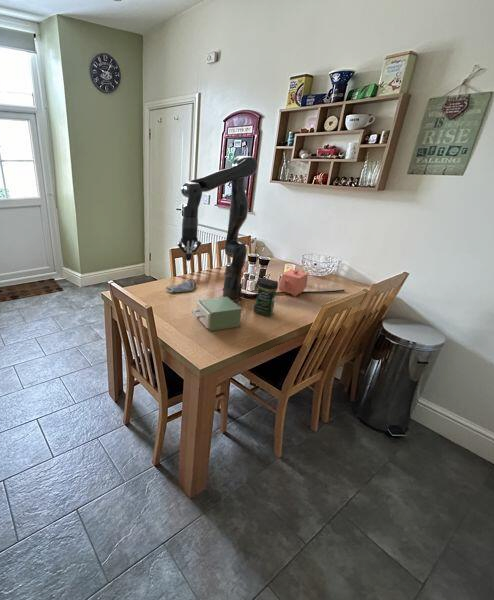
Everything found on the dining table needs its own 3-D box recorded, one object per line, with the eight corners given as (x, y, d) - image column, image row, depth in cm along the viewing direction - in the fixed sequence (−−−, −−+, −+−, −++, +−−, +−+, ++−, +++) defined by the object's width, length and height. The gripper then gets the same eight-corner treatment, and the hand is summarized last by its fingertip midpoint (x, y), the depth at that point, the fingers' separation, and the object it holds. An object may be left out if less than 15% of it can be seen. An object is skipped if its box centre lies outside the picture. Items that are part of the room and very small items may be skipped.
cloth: (176, 296, 190) (176, 292, 189) (161, 289, 200) (161, 285, 199) (206, 286, 206) (207, 282, 205) (191, 279, 215) (191, 276, 214)
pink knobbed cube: (292, 300, 188) (297, 277, 182) (272, 294, 196) (276, 271, 190) (308, 290, 202) (313, 269, 196) (289, 285, 210) (293, 264, 204)
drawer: (199, 330, 153) (200, 315, 150) (188, 317, 165) (189, 303, 161) (234, 324, 158) (236, 310, 155) (221, 312, 170) (223, 299, 167)
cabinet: (210, 330, 154) (211, 312, 150) (197, 317, 167) (199, 299, 163) (239, 326, 159) (241, 308, 155) (225, 313, 171) (227, 296, 167)
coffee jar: (251, 312, 173) (256, 279, 166) (257, 307, 179) (262, 275, 171) (268, 317, 168) (274, 284, 160) (275, 312, 173) (281, 279, 166)
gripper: (179, 228, 153) (178, 263, 160) (205, 226, 157) (203, 261, 164) (174, 225, 160) (173, 259, 167) (199, 223, 163) (197, 257, 170)
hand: (188, 260), depth 165 cm, fingers closed
